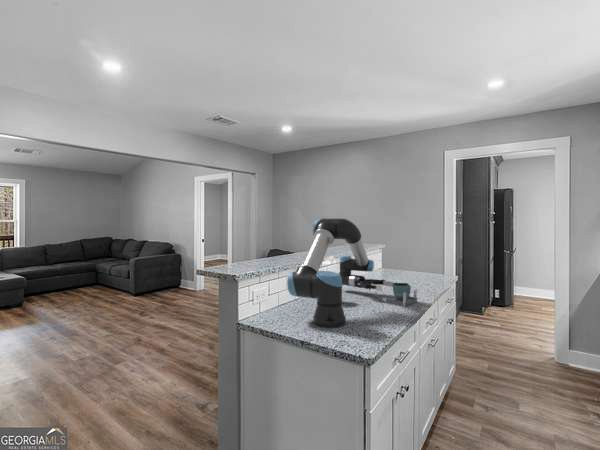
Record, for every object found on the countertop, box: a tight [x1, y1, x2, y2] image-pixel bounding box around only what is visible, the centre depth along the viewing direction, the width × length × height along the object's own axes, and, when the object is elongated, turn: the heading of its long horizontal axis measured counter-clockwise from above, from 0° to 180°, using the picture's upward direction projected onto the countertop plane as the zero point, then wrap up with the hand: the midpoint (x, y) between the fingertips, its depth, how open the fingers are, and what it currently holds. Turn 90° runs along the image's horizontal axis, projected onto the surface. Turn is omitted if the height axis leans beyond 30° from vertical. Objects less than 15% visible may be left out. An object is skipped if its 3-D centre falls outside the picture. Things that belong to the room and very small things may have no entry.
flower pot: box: [392, 282, 412, 301], centre depth 186 cm, size 9×9×9 cm
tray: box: [385, 288, 418, 307], centre depth 186 cm, size 15×12×8 cm
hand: (387, 286), depth 193 cm, fingers open, 13 cm apart
